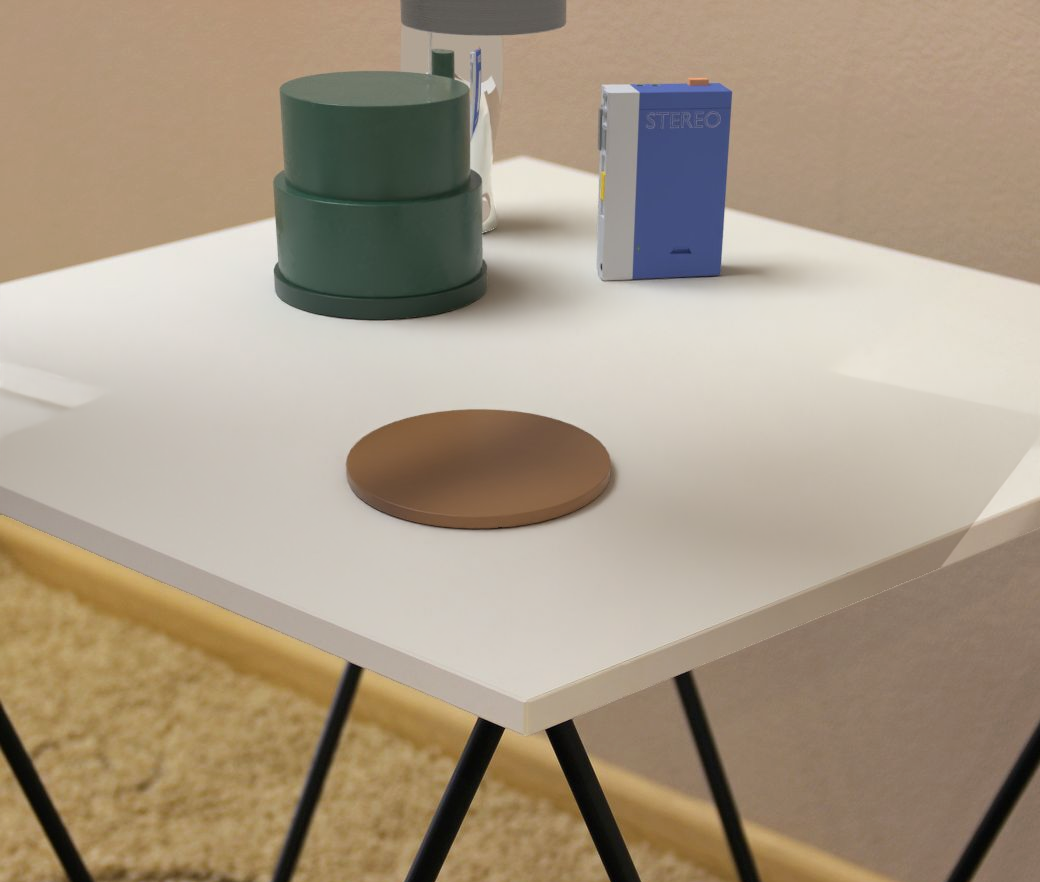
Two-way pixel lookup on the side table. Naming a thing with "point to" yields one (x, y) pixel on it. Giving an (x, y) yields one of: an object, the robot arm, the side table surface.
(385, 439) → the cork coaster
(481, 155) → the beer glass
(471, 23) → the steel cup
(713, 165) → the walkman
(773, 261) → the side table surface
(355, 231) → the green tiered cylinder
